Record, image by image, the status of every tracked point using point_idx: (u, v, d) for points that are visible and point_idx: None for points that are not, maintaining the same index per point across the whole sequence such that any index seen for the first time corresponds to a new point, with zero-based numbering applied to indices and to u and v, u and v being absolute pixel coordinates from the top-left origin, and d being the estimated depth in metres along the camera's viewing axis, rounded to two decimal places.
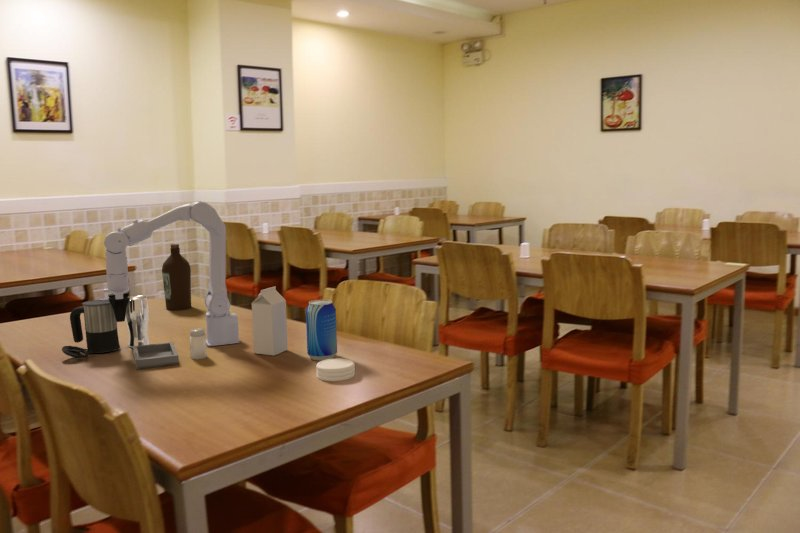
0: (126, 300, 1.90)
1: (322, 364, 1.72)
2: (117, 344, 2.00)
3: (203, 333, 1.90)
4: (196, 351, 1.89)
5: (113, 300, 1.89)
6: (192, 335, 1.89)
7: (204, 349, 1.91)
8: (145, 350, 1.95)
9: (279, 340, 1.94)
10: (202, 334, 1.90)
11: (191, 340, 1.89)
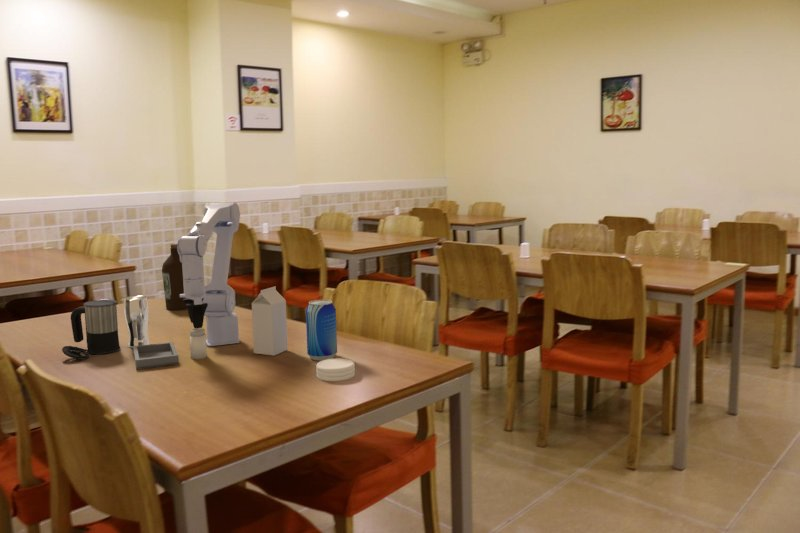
0: (204, 306, 1.85)
1: (322, 364, 1.72)
2: (117, 345, 2.00)
3: (203, 333, 1.90)
4: (196, 351, 1.89)
5: (192, 306, 1.83)
6: (192, 335, 1.89)
7: (204, 349, 1.91)
8: (145, 350, 1.95)
9: (279, 340, 1.94)
10: (202, 334, 1.90)
11: (191, 340, 1.89)
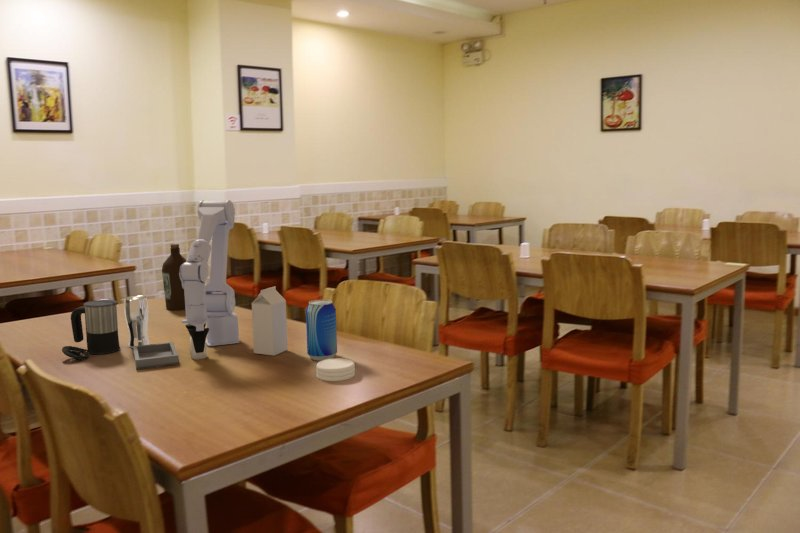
0: (206, 331, 1.87)
1: (322, 364, 1.72)
2: (117, 345, 2.00)
3: None
4: None
5: (193, 331, 1.86)
6: None
7: (204, 349, 1.91)
8: (145, 350, 1.95)
9: (279, 340, 1.94)
10: None
11: (191, 340, 1.89)
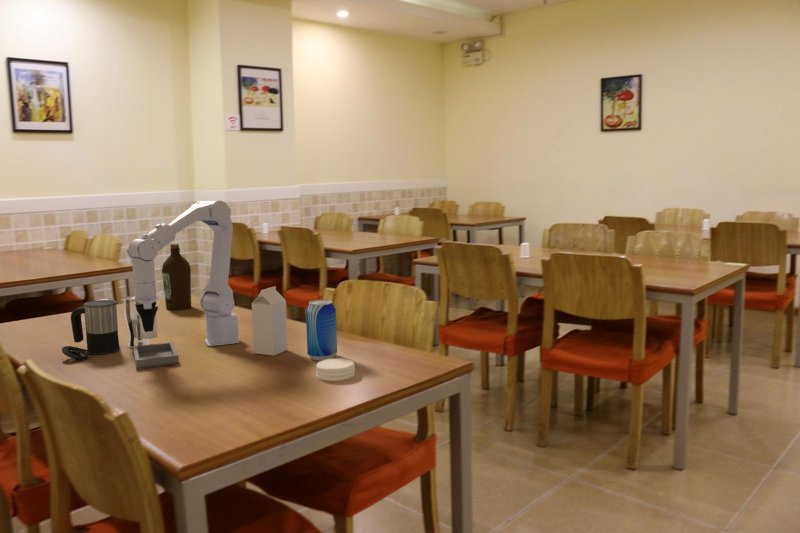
0: (154, 309, 1.84)
1: (322, 364, 1.72)
2: (117, 345, 2.00)
3: None
4: None
5: (141, 309, 1.82)
6: None
7: (154, 329, 1.87)
8: (145, 350, 1.95)
9: (279, 340, 1.94)
10: None
11: None
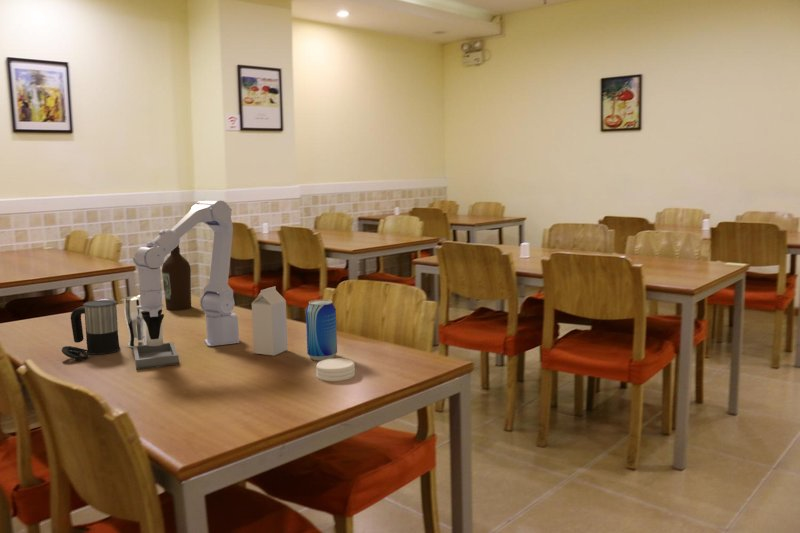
0: (160, 317, 1.85)
1: (322, 364, 1.72)
2: (117, 345, 2.00)
3: None
4: None
5: (147, 317, 1.83)
6: None
7: (160, 336, 1.88)
8: (145, 350, 1.95)
9: (279, 340, 1.94)
10: None
11: None
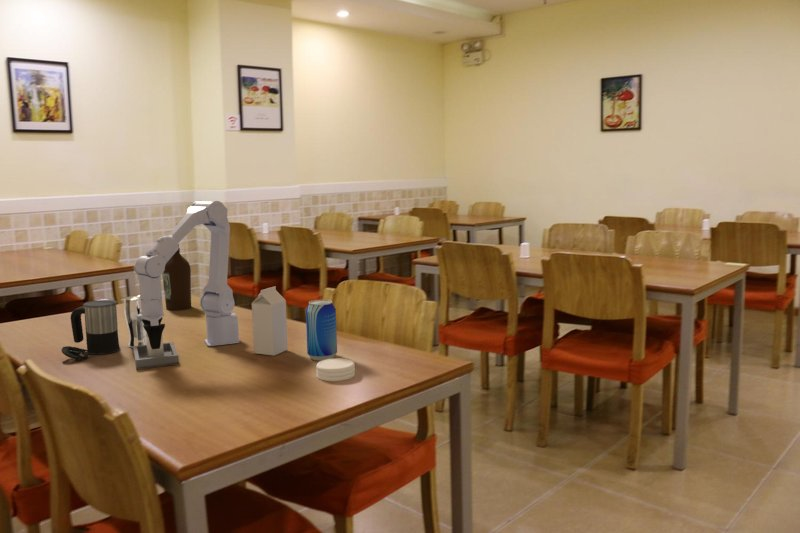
0: (161, 327, 1.84)
1: (322, 364, 1.72)
2: (117, 346, 2.00)
3: None
4: (152, 351, 1.87)
5: (148, 327, 1.82)
6: None
7: (160, 349, 1.89)
8: (145, 350, 1.95)
9: (279, 340, 1.94)
10: None
11: (147, 340, 1.88)
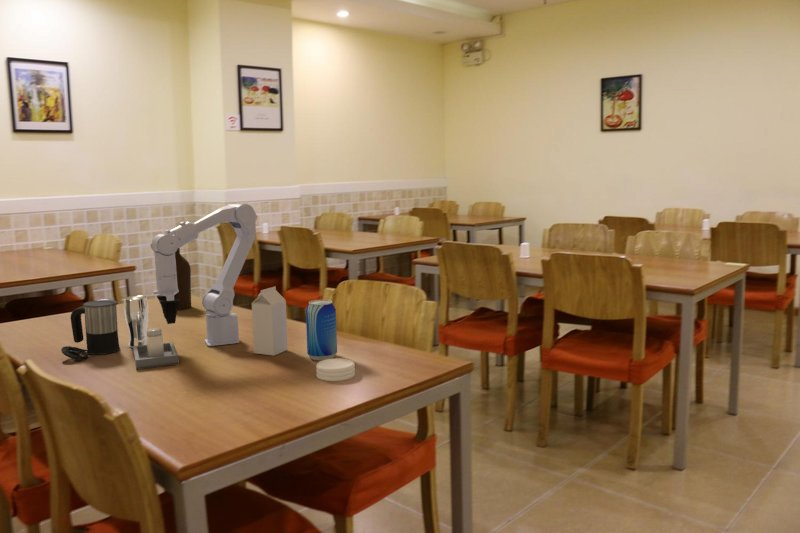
0: (177, 302, 1.92)
1: (322, 364, 1.72)
2: (117, 346, 2.00)
3: (160, 333, 1.88)
4: (152, 351, 1.88)
5: (164, 302, 1.90)
6: (148, 335, 1.87)
7: (161, 349, 1.89)
8: (145, 350, 1.95)
9: (279, 340, 1.94)
10: (158, 334, 1.88)
11: (147, 340, 1.88)
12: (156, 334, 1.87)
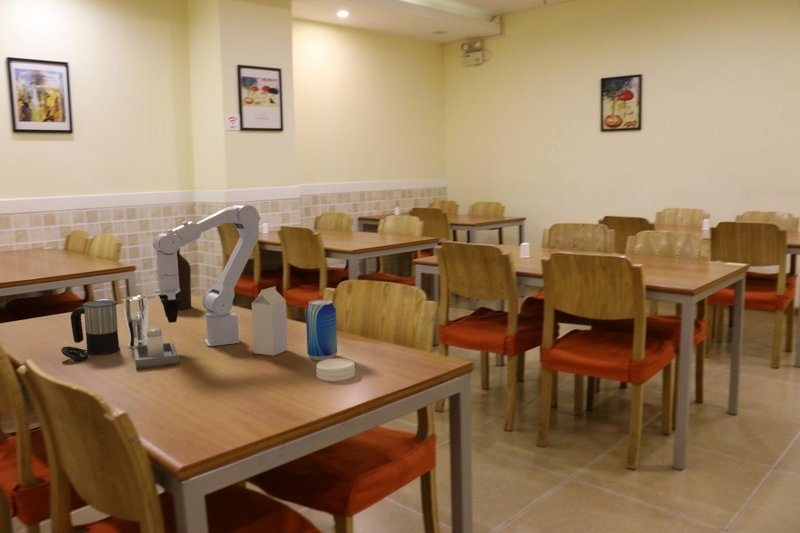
0: (178, 301, 1.92)
1: (322, 364, 1.72)
2: (117, 346, 2.00)
3: (160, 333, 1.88)
4: (152, 351, 1.88)
5: (166, 301, 1.91)
6: (148, 335, 1.87)
7: (161, 349, 1.89)
8: (145, 350, 1.95)
9: (279, 340, 1.94)
10: (158, 334, 1.88)
11: (147, 340, 1.88)
12: (156, 334, 1.87)
